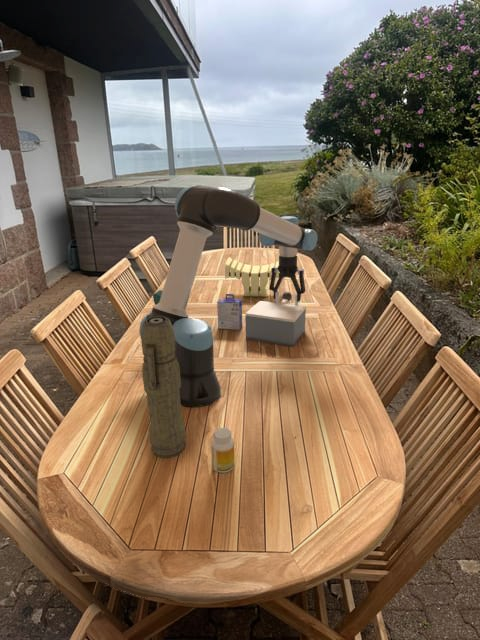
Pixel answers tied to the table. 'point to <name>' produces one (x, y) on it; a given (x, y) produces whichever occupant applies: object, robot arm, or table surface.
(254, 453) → the table surface
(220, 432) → the supplement bottle
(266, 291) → the slatted curved stool
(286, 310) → the lid
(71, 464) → the table surface
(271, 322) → the carton
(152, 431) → the thermos
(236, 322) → the ink cartridge box
